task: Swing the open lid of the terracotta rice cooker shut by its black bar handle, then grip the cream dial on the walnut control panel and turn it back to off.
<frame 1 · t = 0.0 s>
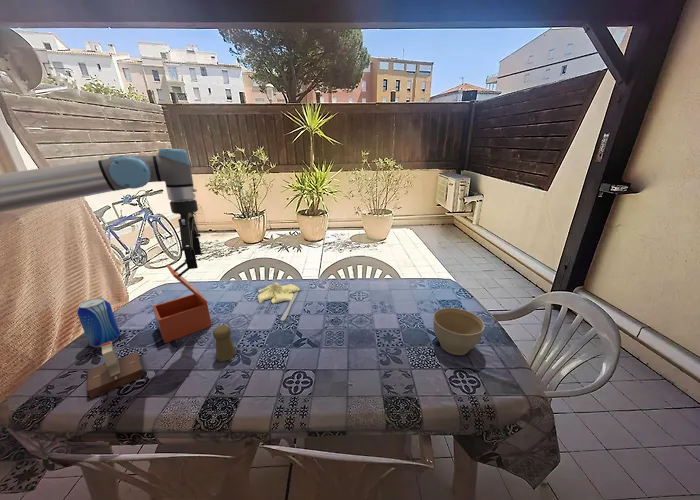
hand: (195, 261, 94), 28 cm above the table, tool pointing down, fingers open, 13 cm apart
cooker: (185, 327, 105), on the table
cork: (226, 356, 90), on the table
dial: (110, 358, 79), point 7 cm above the table, hinge at 90.0°
planter bowl: (453, 346, 95), on the table
butter knife: (290, 304, 121), on the table, touching cloth
beer can: (106, 341, 97), on the table
cloth: (275, 294, 130), on the table, touching butter knife
cooker lid: (194, 278, 103), point 19 cm above the table, hinge at 60.0°
control panel: (117, 377, 81), on the table
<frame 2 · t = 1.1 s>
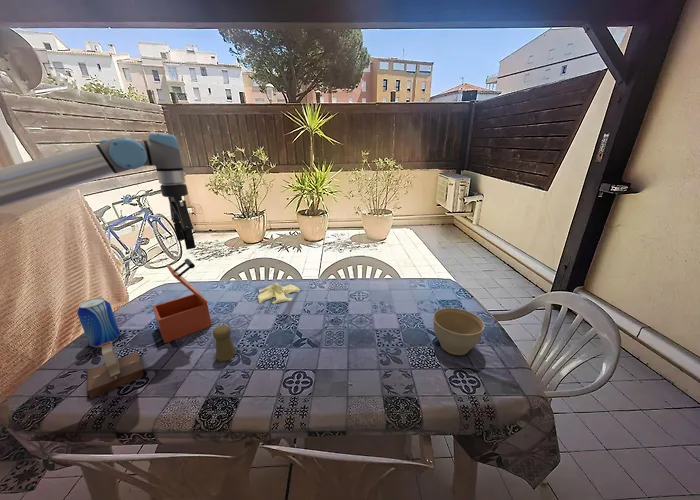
hand: (186, 244, 98), 33 cm above the table, tool pointing down, fingers open, 13 cm apart
butter knife: (290, 305, 122), on the table
cloth: (275, 294, 130), on the table
everything else where it was.
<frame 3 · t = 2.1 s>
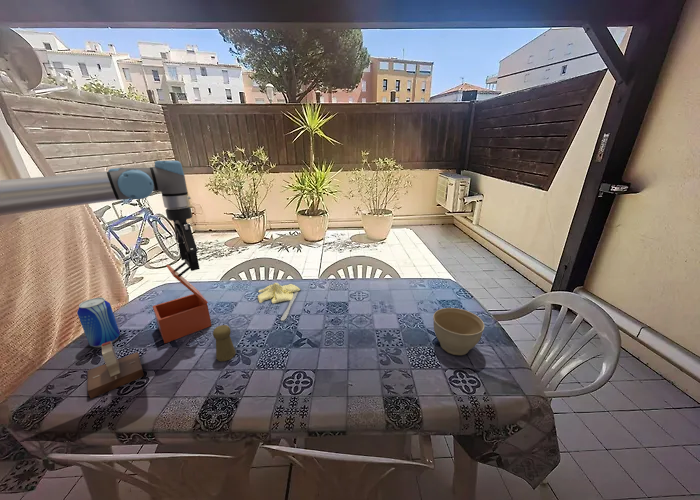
hand: (190, 264, 101), 25 cm above the table, tool pointing down, fingers open, 13 cm apart
butter knife: (290, 304, 121), on the table, touching cloth
cloth: (275, 294, 130), on the table, touching butter knife
everything else where it was.
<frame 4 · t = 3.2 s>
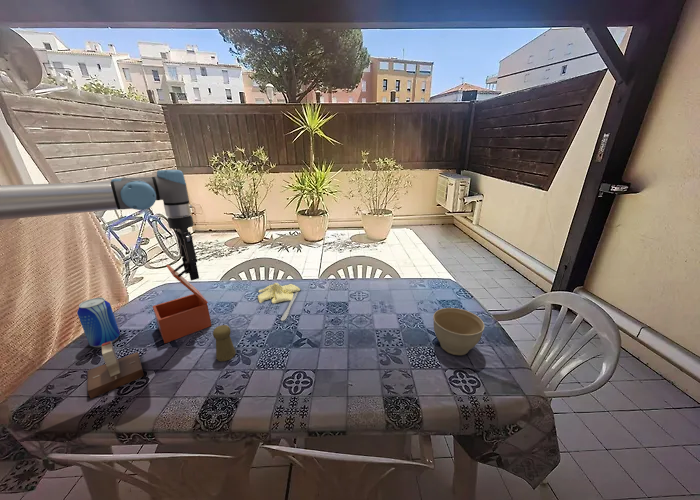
hand: (192, 275, 102), 20 cm above the table, tool pointing down, fingers closed on cooker lid, 7 cm apart
cooker lid: (194, 278, 103), point 19 cm above the table, hinge at 60.0°, touching gripper
everything else where it was.
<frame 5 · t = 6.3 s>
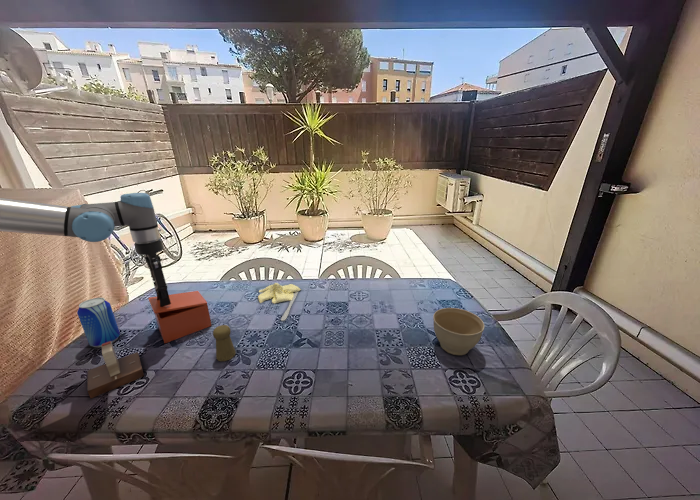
hand: (164, 300, 98), 13 cm above the table, tool pointing down, fingers closed on cooker lid, 7 cm apart
cooker lid: (178, 293, 100), point 15 cm above the table, hinge at 10.1°, touching gripper
everything else where it was.
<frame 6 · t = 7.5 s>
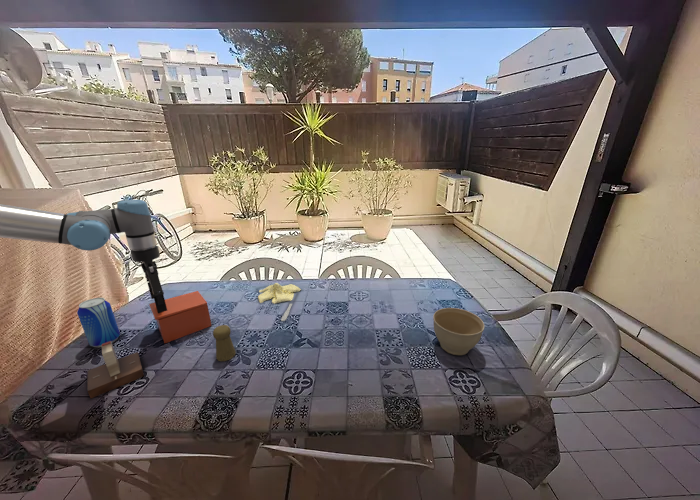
hand: (159, 304, 97), 13 cm above the table, tool pointing down, fingers open, 12 cm apart
cooker lid: (177, 296, 100), point 14 cm above the table, hinge at 1.4°
everything else where it was.
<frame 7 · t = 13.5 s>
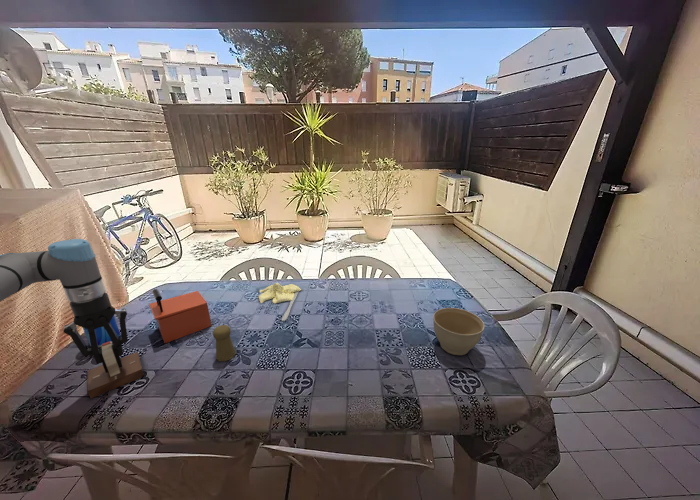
hand: (113, 367, 80), 4 cm above the table, tool pointing down, fingers closed on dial, 2 cm apart
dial: (110, 358, 79), point 7 cm above the table, hinge at 90.0°, touching gripper
everything else where it was.
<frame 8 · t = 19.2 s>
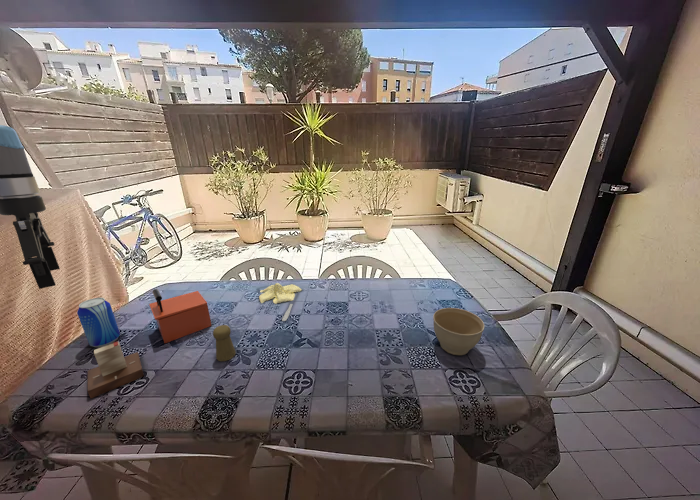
hand: (50, 277, 71), 33 cm above the table, tool pointing down, fingers open, 13 cm apart
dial: (110, 358, 79), point 7 cm above the table, hinge at 0.0°
everything else where it was.
at the end: cooker lid at +1° (first picture: +60°); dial at +0° (first picture: +90°) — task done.
